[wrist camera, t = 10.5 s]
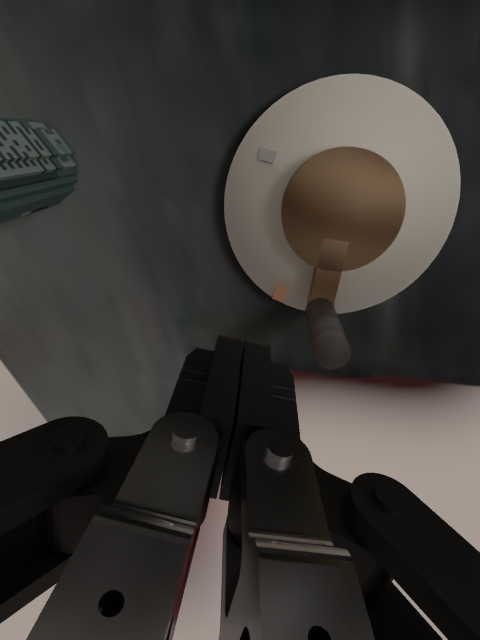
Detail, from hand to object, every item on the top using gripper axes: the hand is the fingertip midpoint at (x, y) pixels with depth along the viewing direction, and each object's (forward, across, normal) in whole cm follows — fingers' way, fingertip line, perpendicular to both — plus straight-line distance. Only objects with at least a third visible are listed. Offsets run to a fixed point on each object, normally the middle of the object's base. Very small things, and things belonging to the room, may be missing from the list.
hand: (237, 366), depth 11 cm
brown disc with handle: (+21, -6, 0) cm, 22 cm away
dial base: (+23, -6, -2) cm, 24 cm away
